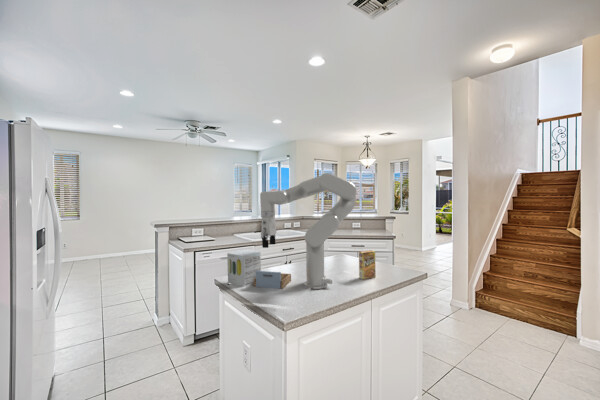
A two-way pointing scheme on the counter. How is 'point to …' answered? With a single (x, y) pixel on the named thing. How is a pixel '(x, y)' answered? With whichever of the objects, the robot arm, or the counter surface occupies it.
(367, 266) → the candy box
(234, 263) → the supplement box
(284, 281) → the crate
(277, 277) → the panel
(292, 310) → the counter surface
